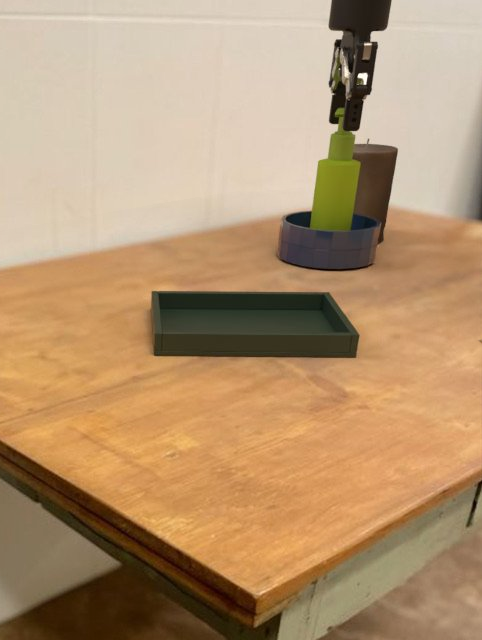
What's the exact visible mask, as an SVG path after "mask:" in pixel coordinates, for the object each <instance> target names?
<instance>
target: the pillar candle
mask: <svg viewBox="0 0 482 640" xmlns="http://www.w3.org/2000/svg"><path fill="white" fill-rule="evenodd" d="M369 142H370V138H367V141H366V143H354V150H353V156H352V159H353V160H356V161H359V162H360V163H361V164H360V171H359V177H358V184H357V190H356V197H355V203H354V210H353V213H357V214H361V215H366V216H370V217H373V218H375V219H377V220H379V221H380V222H381V227H380V233H379V238H378V244H380V243H382V242H383V241H384V237H385V236H384V234H385V228H386V224H387V217H388V211H389V206H390V200H391V195H392V189H393V188H392V187H393V182H394V177H395V172H396V166H397V159H398V153H399V148H398V147H396V146H393V145H388V144H377V143H369Z"/></svg>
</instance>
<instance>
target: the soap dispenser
mask: <svg viewBox="0 0 482 640" xmlns="http://www.w3.org/2000/svg"><path fill="white" fill-rule="evenodd" d="M344 110H345V108H338V109H337V111H336V113H335V117H339V124H337V131H334V133H331V134H330V138H329V147H328V153H327V158H323V159H319V160H318V161H317V168H316V176H315V182H314V183H315V184H314V191H313V197H312V198H313V200H312V206H311V211H312V214H311V222H310V228H312V229H320V230H350V229H351V223H352V216H353V210H354V203H355V197H356V190H357V184H358V177H359V171H360V164H361V163H360V162H359V161H356V160H353V159H352V156H353V150H354V144H356V142H355V141H356V134H355V133H353V131H344V130H343V129H342V124H343V117H344Z"/></svg>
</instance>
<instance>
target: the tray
mask: <svg viewBox="0 0 482 640" xmlns="http://www.w3.org/2000/svg"><path fill="white" fill-rule="evenodd" d="M150 292H151V295H150V296H151V297H150V298H151V299H150V316H151V317H150V318H151V331H152V345H153V355H154V356H157V357H158V356H161V357H162V356H165V357H166V356H167V357H168V356H173V357H179V356H180V357H268V358H269V357H270V358H271V357H272V358H274V357H276V358H277V357H278V358H284V357H285V358H357V353H358V348H359V342H360V334H359V332H358V330H357V329H356V328H355V326H354V325H353V323H352V322H351V321H350V320H349V318H348V317H347V315H346V314H345V313H344V311H343V309H342V308H341V307H340V306H339V304H338V303H337V301H336V299H334V297H333V295H332V294H331V292H328V291H323V292H322V291H227V290H226V291H218V290H216V291H215V290H214V291H211V290H210V291H208V290H207V291H205V290H204V291H203V290H191V291H190V290H151V291H150Z"/></svg>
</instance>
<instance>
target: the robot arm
mask: <svg viewBox="0 0 482 640" xmlns="http://www.w3.org/2000/svg"><path fill="white" fill-rule="evenodd" d="M392 2H393V0H331V2H330V12H329V19H328V26H327V27H328V29H329V31H331V32H332V31H333V32H342V37H341V39H340V38H338V39H337V38H336V39H335V41H334V43H333V52H332V60H331V66H330V67H331V68H330V73H329V80H328V88H329V89H330V93H331V101H330V107H329V115H328V123H329V124H330V125H338V124H339V117H335V113H336V111H337V109H338V108H345V110H344V117H343V124H342V129H343V130H344V131H350V132H358V131H360V127H361V124H362V123H361V122H362V116H363V115H362V114H363V109H364V102H365V101H366V99H367V97H368V96H371V93H372V91H373V83H374V74H375V68H376V62H377V61H376V60H377V53H378V48H379V43H378V41H371V39H372V36H371V35H372V33H373V32H384V31H386V30H387V28H388V26H389V21H390V13H391V8H392Z"/></svg>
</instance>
